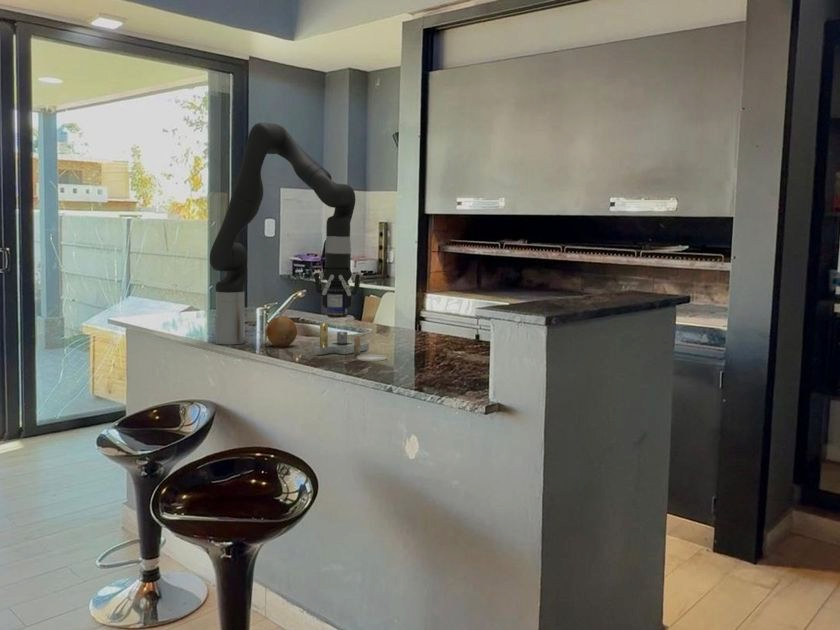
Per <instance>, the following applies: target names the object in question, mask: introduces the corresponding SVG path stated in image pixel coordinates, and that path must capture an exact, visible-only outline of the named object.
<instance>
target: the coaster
mask: <svg viewBox="0 0 840 630" xmlns="http://www.w3.org/2000/svg"><path fill="white" fill-rule="evenodd" d="M387 358H388V356H387V355H383V354H376V353H375V354H374V353H371V354H370V353H369V354H368V353H367V354H360V355H359V356H356V360H358V361H362V362H363V361H364V362H381V361H382V362H383V361H387Z"/></svg>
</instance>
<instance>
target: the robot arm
mask: <svg viewBox="0 0 840 630" xmlns="http://www.w3.org/2000/svg"><path fill="white" fill-rule="evenodd" d="M267 154H268V155H278V156H280V157H281V158H284V159H285V160H286V161H288V163H290V165H291V166H292V169H293V170H294V173H295V175H296V176H297V177H298V178H299V179H300V181H302V182H303V183H304V184H305V185H307V186H308V187H309V188H310V189H312V190H313V191H314V193H315V194H316V196H317V197H318V198H319V200H320V201H321V203H322V204H325V205H326V206H328V208H329V207H330V208H334V210H333V211H334V212H333V215H331V216H328V217H327V220H326V226H325V227H326V231H325V233H326V237H325V245H324V246H325V247H324V248H325V250H324V251H325V253H324V254H325V255H324V264H325V265H324V271H323V272H315V273H314V275H313V276H314V283H315V284H314V285H315V292H316V293H317V294H320V295H322V296H321V297H322V299H321V301H322V303H321V305H322V306H323V308H324V309H327V290H328V289H329V288H330V285H331V280H336V281H342V285H343V287H344V289H345V290H346V293H347V304H346V308H347V310H349V309H351V308H352V306H353V296H355V295H357V294H359V292H360V287H361V279H362V275H361V273H353V272H352V270H351V264H352V263H351V260H352V259H351V256H352V255H351V252H352V243H351V221H352V219H353V218H352V217H353V214H354V210H355V205H356V193H355V191H354V189H353V187H352V186H351V185H348V184H345V183H336V182H335V181H333V180H332V179H333V178H332V176H331V174H330V172H329V171H328V170H327V169H325V168H324V167H323V166H322V165H320V164H319V163H318V162H317V161H316V160H315V159H314V158H313V157H311V156H310V155H309V154H308V153H307V152H306V151H305V150H304V149H303V148H302V147H301V145H300V144H298V142H297V141H296V140H295V139H294V138H293V137H292V135H291V134H290V133H289V132H288V131H287V130H286V129H285V128H284V127H283V126H282V125H280V124H277V123H268V122H257V123H256V124H254V125H253V126H252V127H251V128H250V131H249V133H248V136H247V141H246V146H245V150H244V155H243V159H242V164H241V167H240V169H239V172H238V176H237V177H238V178H237V180H236V183H235V185H234V187H233V191H232V194H231V197H230V200H229V204H228V207H227V210H226V213H225V216H224V219H223V221H222V223H221V227H220V229H219V231H218V233H217V235H216V237H215V239H214V242H213V244H212V246H211V249H210V253H209V263H210V266H211V268H212V269H213V270H215V271H219V272H226V273H227V274H226V276H225V277H224V278H222V279H221V280H219V281H218V282H217V281H216V283H215V315H214V317H215V319H214V320H215V321H214V327H215V328H214V329H215V330H214V331H215V333H214V335H215V337H214V338H215V342H214V343H215V344H216V345H241V344H244V343H246V341H245V339H246V336H245V332H246V331H245V328H246V327H245V319H246V318H245V315H246V314H245V287H246V283H247V277H248V275H247V274H248V273H247V271H248V253H247V250H246V247H245V246H244V245H243V244H242V243H239V242H236V240H237V238H238V237H239V234H240V233H241V232H242V231H243V230H244V229H245V228H246V227H247V226H248V225H249V224H250V223H251V222H252V221H253V219H254V218H255V217H256V216H257V214H258V212H259V210H260V206H261V205H262V201H263V199H264V185H263V180H262V175H261V173H262V168H263V163H264V160H265V159H266V156H267ZM323 277H324V278H325V280H326V283H325V286H324V288H322V280H323V279H324V278H323ZM351 278H352V280H353V282H354V285H353V290H352V289H351V285H350V283H349V281H350V280H351ZM343 282H344V283H343Z"/></svg>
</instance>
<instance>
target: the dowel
mask: <svg viewBox="0 0 840 630" xmlns="http://www.w3.org/2000/svg"><path fill="white" fill-rule="evenodd" d="M353 337H354V338H353V342H354V353H353V356H354V357H357V356H359V355H361V351H360V342H361V336H360V335H354V336H353Z"/></svg>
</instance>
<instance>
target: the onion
mask: <svg viewBox="0 0 840 630" xmlns="http://www.w3.org/2000/svg"><path fill="white" fill-rule="evenodd" d="M266 334H267V335H266V336H267V339H268V341H269V342H270V343H271V344H272V346H275V347H277V346H279V347H278V348H281V347H282V348H283V347H287V346H290V345H291V344H293V342H295V340H296V338H297V334H298V329H297V325H296V323H295V322H294V321H293V320H292V319H291V318H290V317H288V316H286V315H281V316H277V317H274V318H273V319H271V320H270V322H269V323H268V325H267V327H266Z"/></svg>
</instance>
